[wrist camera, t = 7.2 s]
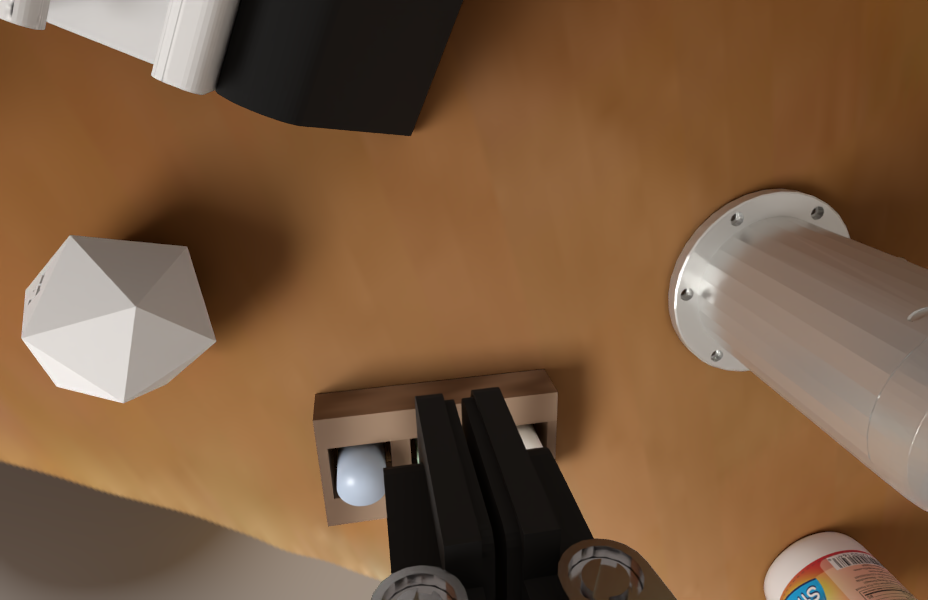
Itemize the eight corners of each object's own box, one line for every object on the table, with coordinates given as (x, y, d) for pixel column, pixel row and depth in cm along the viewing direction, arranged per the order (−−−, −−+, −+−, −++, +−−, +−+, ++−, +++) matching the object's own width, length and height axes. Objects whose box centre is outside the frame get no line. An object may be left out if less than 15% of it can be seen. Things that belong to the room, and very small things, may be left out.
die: (201, 196, 34) (13, 203, 26) (278, 329, 34) (111, 381, 25) (129, 273, 38) (-55, 301, 30) (197, 394, 37) (28, 458, 29)
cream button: (533, 410, 42) (548, 441, 38) (532, 447, 43) (547, 480, 40) (489, 415, 41) (500, 447, 38) (489, 453, 42) (501, 487, 39)
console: (544, 368, 42) (557, 392, 39) (541, 466, 45) (554, 494, 42) (315, 394, 39) (312, 420, 37) (329, 495, 43) (328, 526, 40)
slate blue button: (382, 428, 40) (385, 462, 37) (386, 466, 41) (389, 502, 38) (335, 434, 40) (334, 468, 36) (340, 472, 41) (339, 509, 38)
